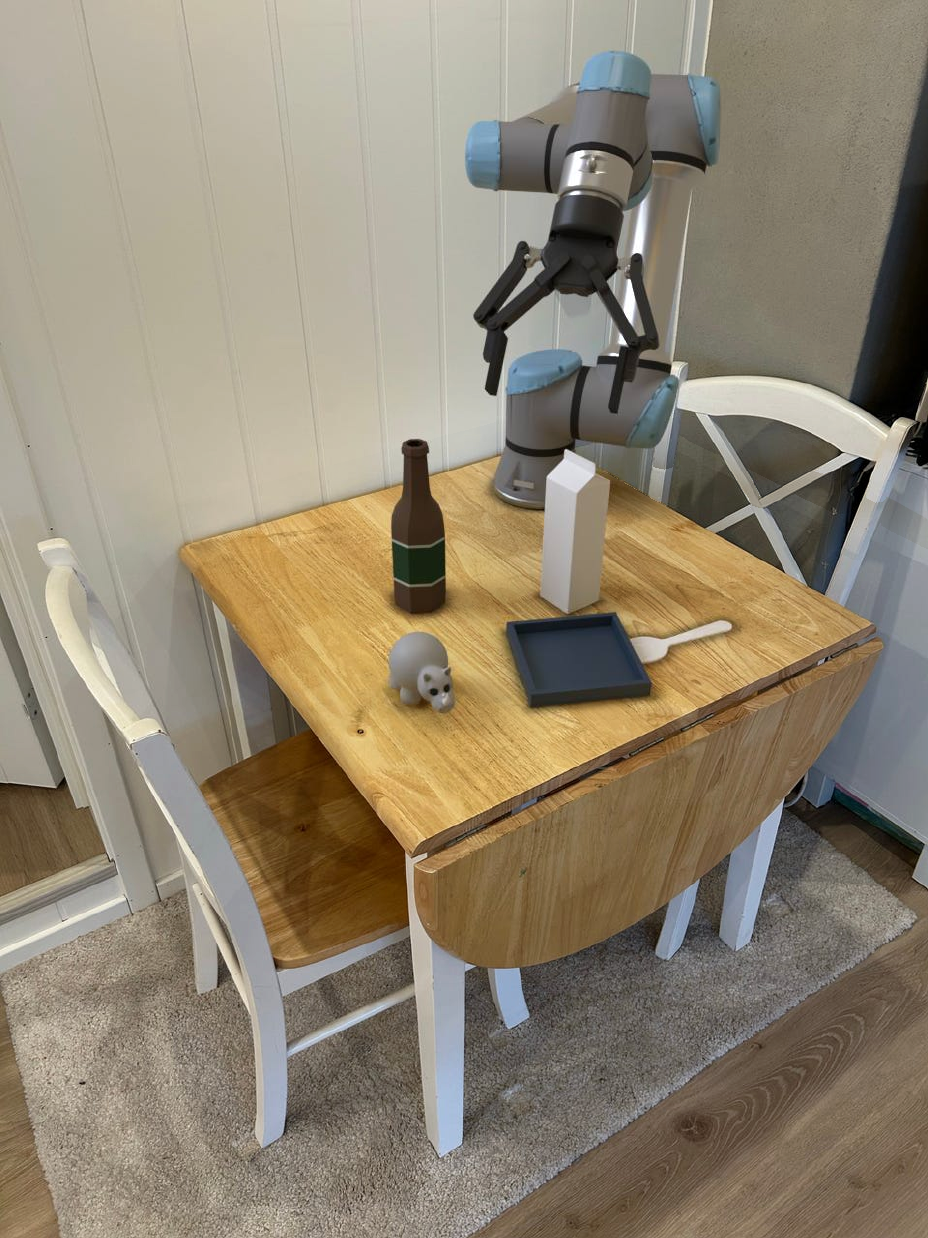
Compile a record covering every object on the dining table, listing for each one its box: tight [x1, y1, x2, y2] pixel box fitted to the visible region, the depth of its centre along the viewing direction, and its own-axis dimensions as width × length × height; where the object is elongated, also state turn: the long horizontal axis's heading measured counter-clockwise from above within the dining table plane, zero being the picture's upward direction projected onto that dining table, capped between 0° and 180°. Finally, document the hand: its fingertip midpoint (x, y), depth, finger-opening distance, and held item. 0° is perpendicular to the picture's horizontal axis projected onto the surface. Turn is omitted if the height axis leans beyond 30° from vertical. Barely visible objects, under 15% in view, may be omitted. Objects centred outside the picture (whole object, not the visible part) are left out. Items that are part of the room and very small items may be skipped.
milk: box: [539, 449, 611, 615], centre depth 130 cm, size 6×6×22 cm
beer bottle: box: [390, 438, 447, 614], centre depth 129 cm, size 8×8×24 cm
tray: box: [505, 611, 653, 709], centre depth 123 cm, size 16×15×2 cm
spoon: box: [629, 619, 733, 665], centre depth 127 cm, size 5×18×1 cm, turn 115°
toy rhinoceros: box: [388, 631, 456, 714], centre depth 114 cm, size 7×12×8 cm, turn 25°
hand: (550, 401), depth 103 cm, fingers open, 13 cm apart
